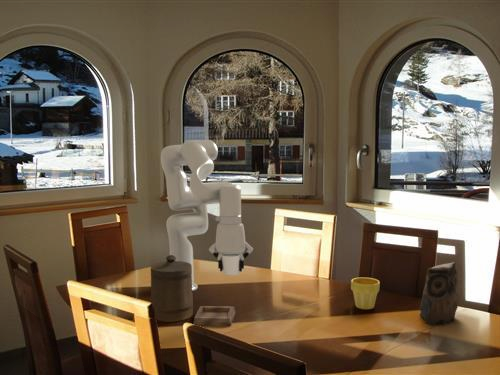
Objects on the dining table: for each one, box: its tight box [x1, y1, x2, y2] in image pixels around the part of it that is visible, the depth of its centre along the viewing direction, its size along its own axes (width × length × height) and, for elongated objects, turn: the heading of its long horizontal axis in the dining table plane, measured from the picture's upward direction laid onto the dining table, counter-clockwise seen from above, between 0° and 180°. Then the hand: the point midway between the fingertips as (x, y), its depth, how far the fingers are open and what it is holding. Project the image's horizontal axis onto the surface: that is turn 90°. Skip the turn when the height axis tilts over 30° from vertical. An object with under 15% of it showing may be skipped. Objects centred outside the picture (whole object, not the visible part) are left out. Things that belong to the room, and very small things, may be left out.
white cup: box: [222, 253, 240, 276], centre depth 196 cm, size 7×7×7 cm
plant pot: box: [350, 277, 381, 310], centre depth 206 cm, size 10×10×10 cm
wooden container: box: [150, 254, 194, 323], centre depth 200 cm, size 15×15×22 cm
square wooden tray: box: [192, 305, 236, 327], centre depth 196 cm, size 13×13×2 cm
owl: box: [419, 261, 459, 327], centre depth 190 cm, size 13×13×20 cm
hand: (231, 270), depth 196 cm, fingers closed on white cup, 6 cm apart
